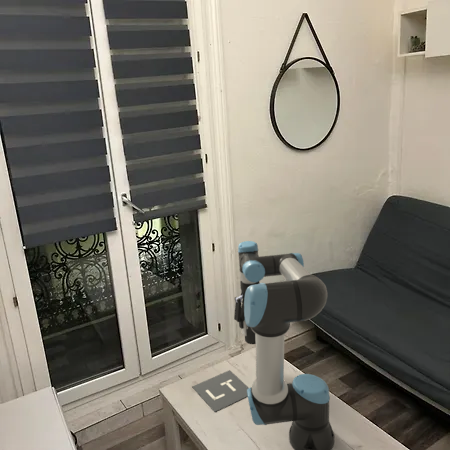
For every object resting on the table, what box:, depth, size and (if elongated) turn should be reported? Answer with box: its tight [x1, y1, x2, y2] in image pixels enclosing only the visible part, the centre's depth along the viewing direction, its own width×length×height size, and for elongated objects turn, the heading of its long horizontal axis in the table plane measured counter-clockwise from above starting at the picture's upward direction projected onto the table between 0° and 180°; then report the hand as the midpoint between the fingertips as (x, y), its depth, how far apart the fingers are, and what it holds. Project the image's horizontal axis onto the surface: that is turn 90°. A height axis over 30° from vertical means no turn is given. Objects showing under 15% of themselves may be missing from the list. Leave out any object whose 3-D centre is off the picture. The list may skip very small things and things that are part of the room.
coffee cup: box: [244, 316, 256, 345], centre depth 191 cm, size 10×10×15 cm
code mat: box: [192, 369, 250, 413], centre depth 189 cm, size 18×18×1 cm
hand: (252, 330), depth 192 cm, fingers closed on coffee cup, 8 cm apart
